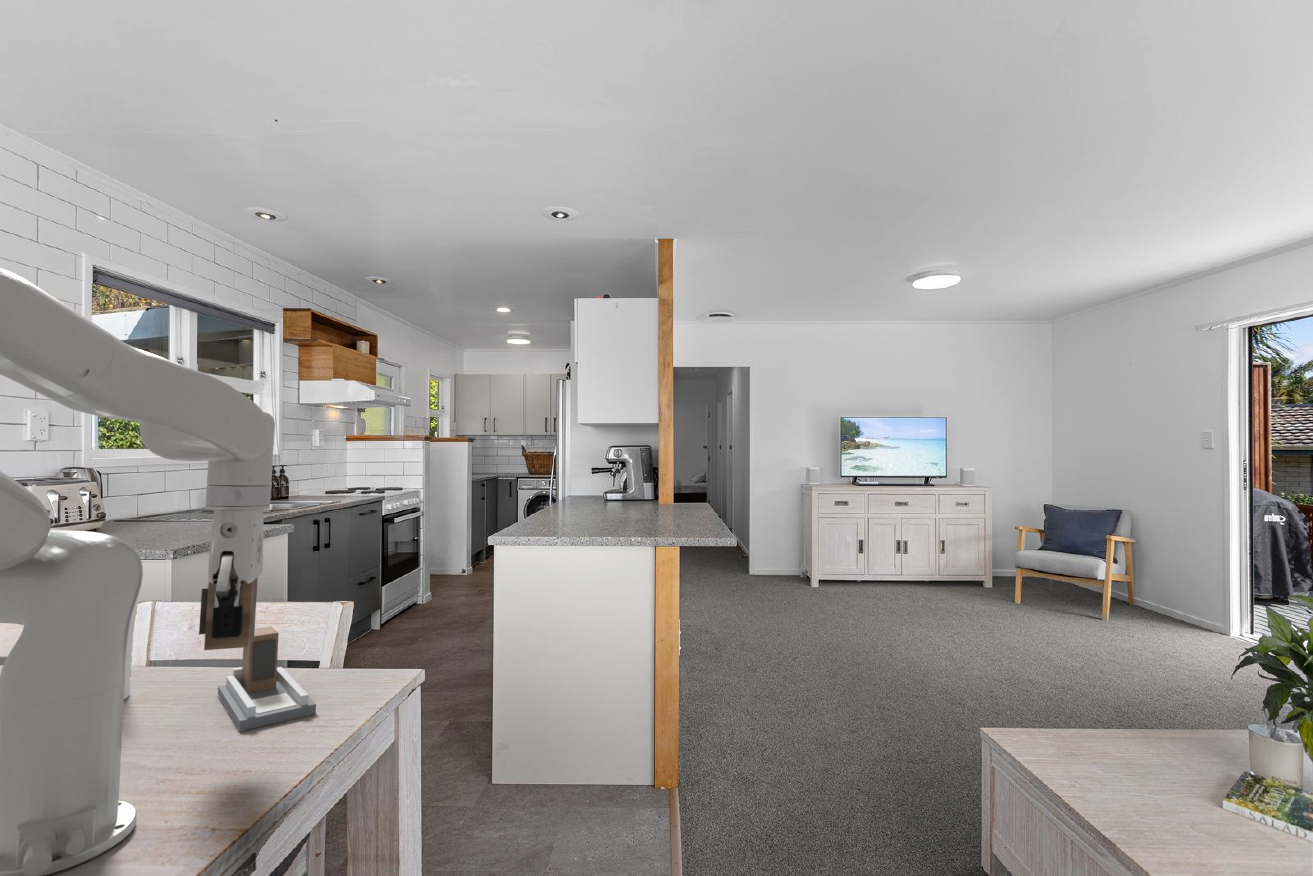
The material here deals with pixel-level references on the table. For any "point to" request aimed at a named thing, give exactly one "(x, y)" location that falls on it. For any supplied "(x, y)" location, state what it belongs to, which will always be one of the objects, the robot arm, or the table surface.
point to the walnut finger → (247, 617)
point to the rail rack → (263, 687)
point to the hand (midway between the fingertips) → (230, 631)
